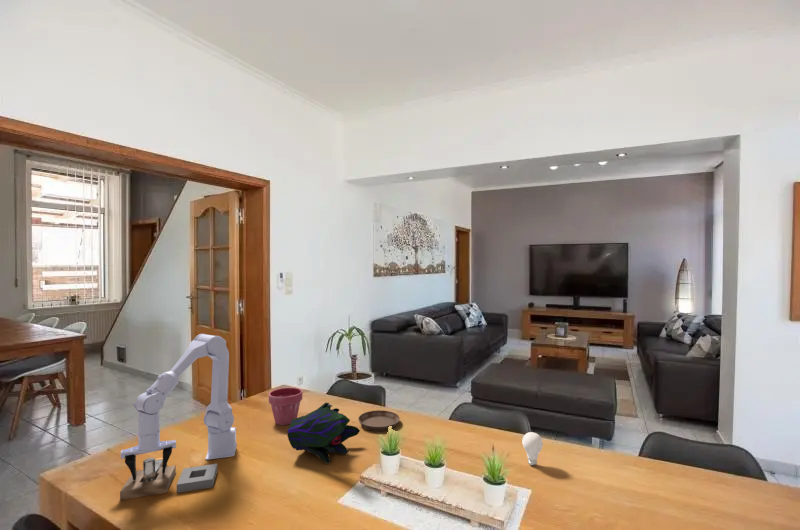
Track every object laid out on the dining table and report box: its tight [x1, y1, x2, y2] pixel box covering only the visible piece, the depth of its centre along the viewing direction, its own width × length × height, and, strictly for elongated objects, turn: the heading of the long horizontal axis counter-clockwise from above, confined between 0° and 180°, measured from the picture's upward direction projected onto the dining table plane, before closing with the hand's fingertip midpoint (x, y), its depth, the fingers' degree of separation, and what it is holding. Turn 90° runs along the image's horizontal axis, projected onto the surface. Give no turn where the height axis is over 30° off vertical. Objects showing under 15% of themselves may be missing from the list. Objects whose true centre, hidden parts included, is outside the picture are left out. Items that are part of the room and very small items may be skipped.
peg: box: [142, 457, 156, 482], centre depth 125 cm, size 3×3×8 cm
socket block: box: [119, 465, 177, 501], centre depth 125 cm, size 12×12×2 cm
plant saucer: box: [357, 409, 401, 432], centre depth 172 cm, size 18×18×3 cm
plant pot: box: [268, 387, 303, 426], centre depth 176 cm, size 14×14×13 cm
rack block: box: [176, 463, 218, 493], centre depth 127 cm, size 10×10×2 cm
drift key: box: [154, 456, 169, 478], centre depth 132 cm, size 4×10×3 cm, turn 17°
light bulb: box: [521, 431, 544, 466], centre depth 136 cm, size 7×7×11 cm
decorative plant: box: [287, 402, 361, 465], centre depth 143 cm, size 21×26×30 cm
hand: (149, 475), depth 125 cm, fingers open, 7 cm apart
